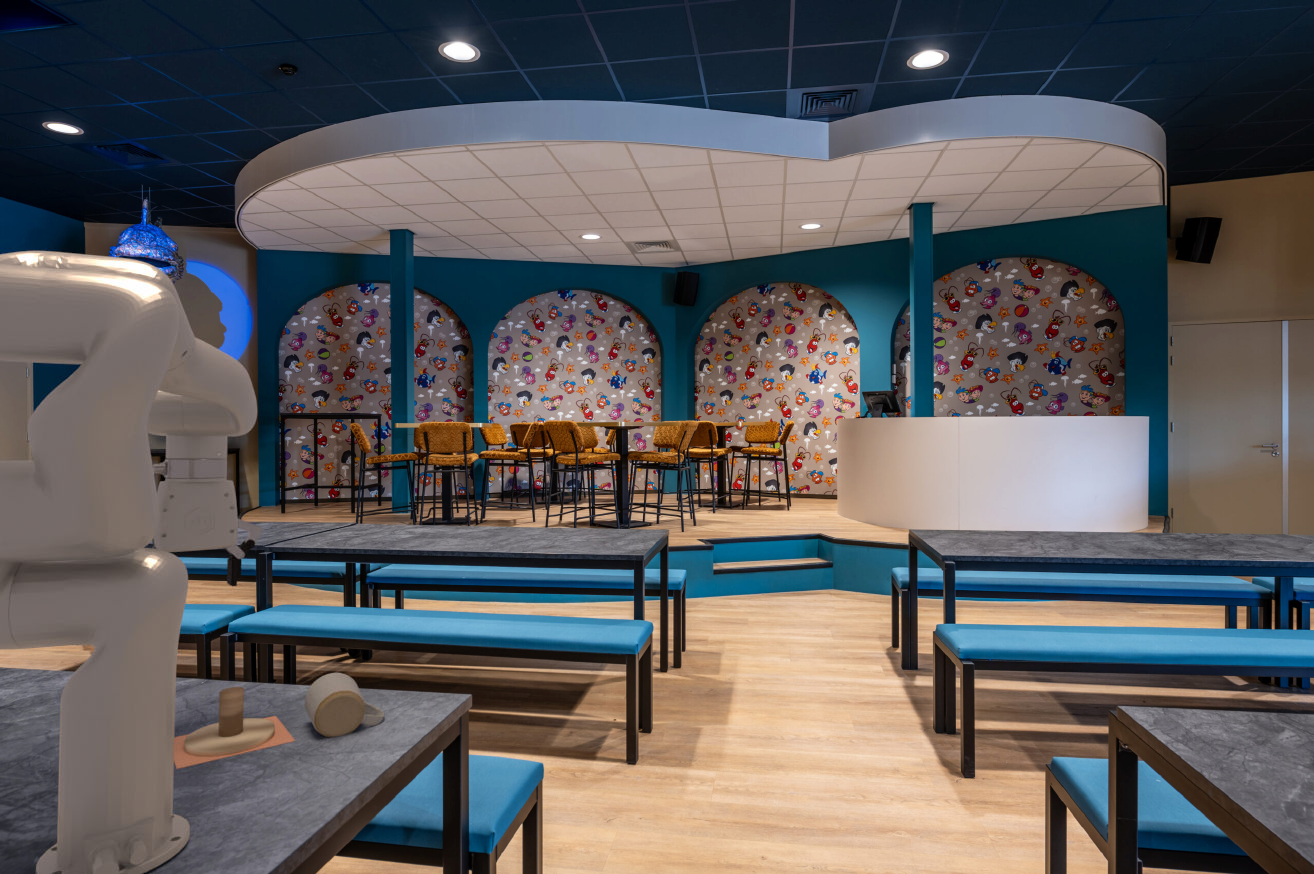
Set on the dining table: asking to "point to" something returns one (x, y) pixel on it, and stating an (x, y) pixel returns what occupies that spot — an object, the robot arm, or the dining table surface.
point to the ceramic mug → (339, 706)
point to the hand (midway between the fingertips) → (194, 588)
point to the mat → (186, 759)
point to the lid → (229, 729)
